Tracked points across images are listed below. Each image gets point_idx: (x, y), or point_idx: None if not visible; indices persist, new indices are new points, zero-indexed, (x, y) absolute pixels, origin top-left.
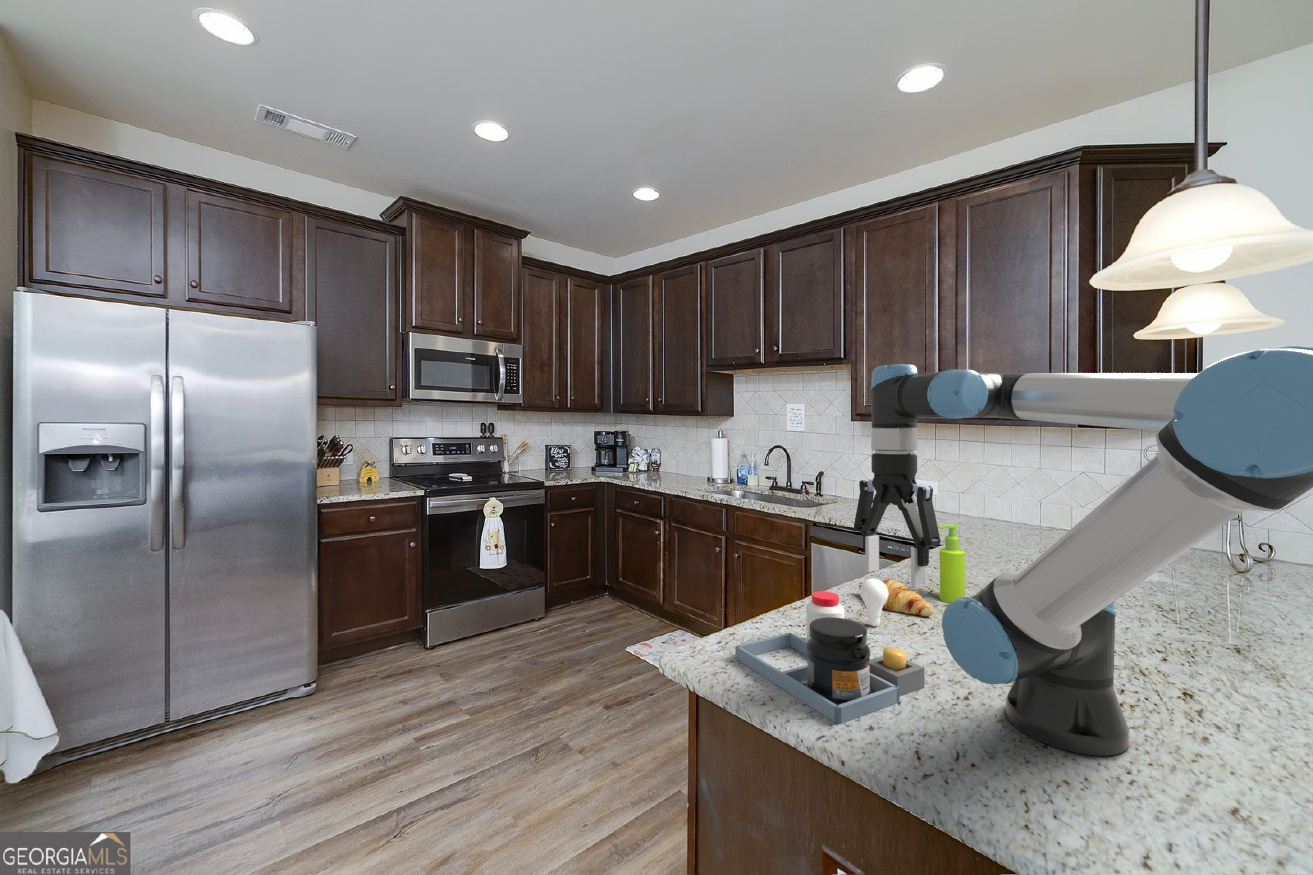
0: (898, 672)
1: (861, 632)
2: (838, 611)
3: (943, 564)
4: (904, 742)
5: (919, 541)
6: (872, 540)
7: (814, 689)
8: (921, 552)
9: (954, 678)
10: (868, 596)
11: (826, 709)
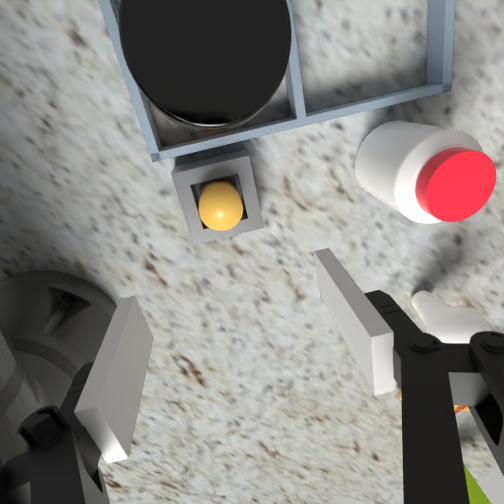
0: (187, 187)
1: (148, 83)
2: (398, 191)
3: (477, 500)
4: (24, 70)
5: (32, 457)
6: (363, 346)
7: None
8: (66, 412)
9: (210, 292)
10: (449, 315)
11: None
